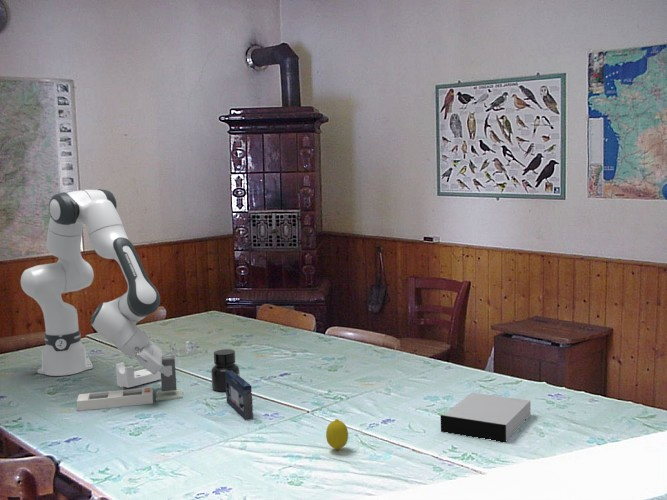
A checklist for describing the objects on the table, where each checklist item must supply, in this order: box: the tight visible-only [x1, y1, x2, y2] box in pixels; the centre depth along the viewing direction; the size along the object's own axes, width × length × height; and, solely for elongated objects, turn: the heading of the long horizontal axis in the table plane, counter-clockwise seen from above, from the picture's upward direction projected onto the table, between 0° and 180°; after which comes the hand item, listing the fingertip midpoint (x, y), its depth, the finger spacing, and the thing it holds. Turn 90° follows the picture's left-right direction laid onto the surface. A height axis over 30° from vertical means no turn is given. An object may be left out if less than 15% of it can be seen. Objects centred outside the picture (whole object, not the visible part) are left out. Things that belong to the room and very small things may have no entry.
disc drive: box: [440, 392, 531, 443], centre depth 207 cm, size 18×22×5 cm
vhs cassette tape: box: [225, 370, 254, 421], centre depth 224 cm, size 18×3×10 cm, turn 23°
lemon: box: [325, 419, 349, 451], centre depth 192 cm, size 6×6×8 cm
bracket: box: [115, 362, 161, 389], centre depth 254 cm, size 13×7×8 cm, turn 135°
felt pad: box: [155, 388, 183, 401], centre depth 241 cm, size 8×8×1 cm
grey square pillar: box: [160, 355, 178, 392], centre depth 240 cm, size 4×4×10 cm
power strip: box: [76, 386, 154, 412], centre depth 234 cm, size 22×7×4 cm, turn 102°
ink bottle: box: [210, 348, 241, 393], centre depth 246 cm, size 10×9×12 cm
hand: (170, 372), depth 240 cm, fingers closed on grey square pillar, 4 cm apart
